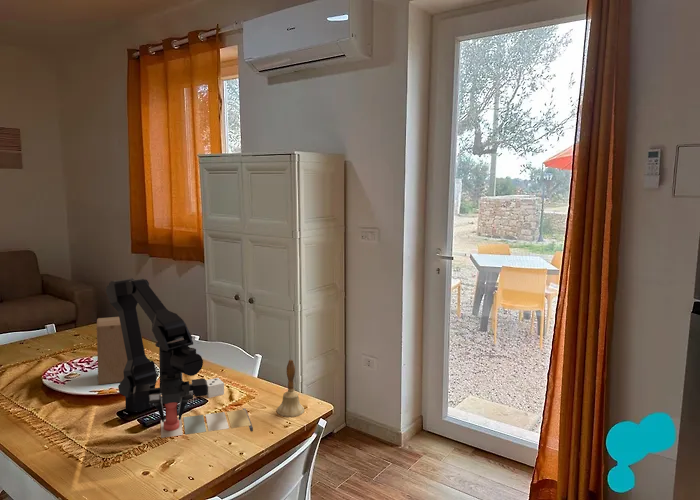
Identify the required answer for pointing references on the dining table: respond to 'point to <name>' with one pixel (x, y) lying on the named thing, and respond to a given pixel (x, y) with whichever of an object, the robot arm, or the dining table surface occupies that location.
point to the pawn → (171, 417)
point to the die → (215, 387)
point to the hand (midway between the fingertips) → (171, 420)
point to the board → (209, 423)
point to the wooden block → (110, 351)
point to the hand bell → (290, 396)
